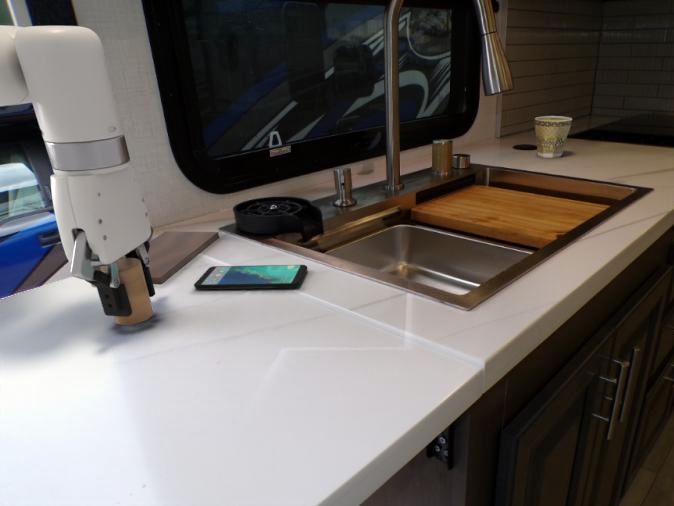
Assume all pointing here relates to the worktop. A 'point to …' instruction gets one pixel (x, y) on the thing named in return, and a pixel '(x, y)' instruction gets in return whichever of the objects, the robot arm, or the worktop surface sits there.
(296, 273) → the smartphone
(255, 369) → the worktop surface
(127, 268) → the wooden cylinder
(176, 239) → the walnut board
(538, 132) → the ceramic cup
